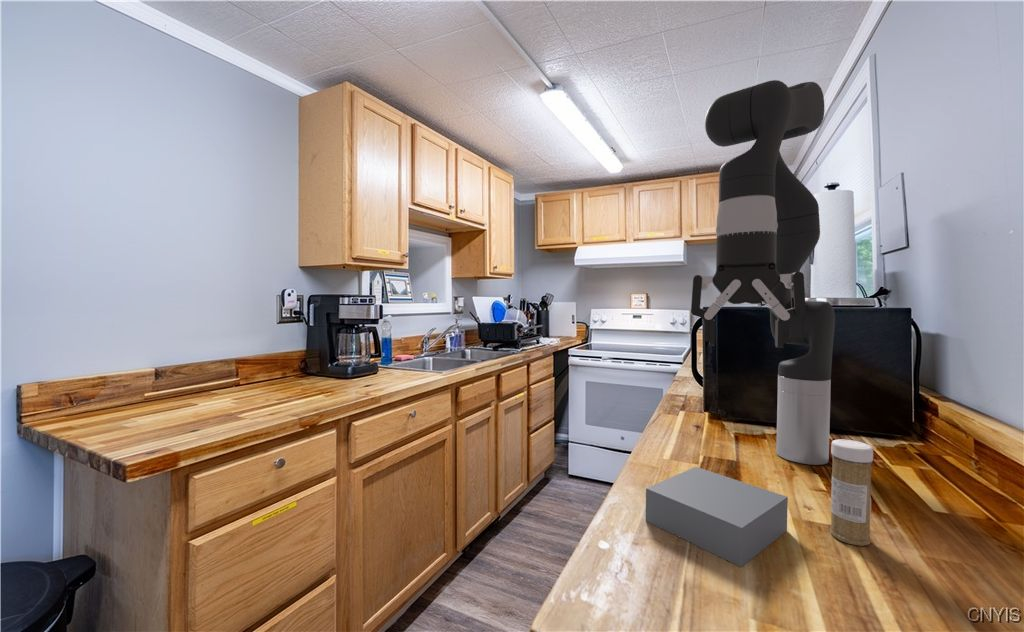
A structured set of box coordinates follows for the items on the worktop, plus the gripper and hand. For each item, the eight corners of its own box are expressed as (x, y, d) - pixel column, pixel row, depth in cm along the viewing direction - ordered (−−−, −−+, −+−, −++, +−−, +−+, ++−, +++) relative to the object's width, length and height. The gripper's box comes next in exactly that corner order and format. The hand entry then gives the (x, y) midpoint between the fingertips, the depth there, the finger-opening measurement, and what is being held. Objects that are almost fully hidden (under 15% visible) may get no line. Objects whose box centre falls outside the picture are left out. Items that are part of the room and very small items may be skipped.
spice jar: (875, 540, 59) (878, 444, 59) (863, 551, 56) (866, 451, 56) (836, 526, 63) (839, 436, 62) (823, 535, 60) (825, 441, 60)
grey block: (695, 495, 73) (695, 466, 72) (786, 530, 61) (787, 496, 61) (645, 520, 64) (645, 488, 64) (741, 567, 53) (741, 527, 53)
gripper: (799, 232, 61) (797, 345, 62) (691, 239, 67) (691, 341, 68) (811, 225, 54) (809, 351, 55) (691, 233, 60) (690, 347, 61)
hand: (744, 346), depth 61 cm, fingers open, 8 cm apart
